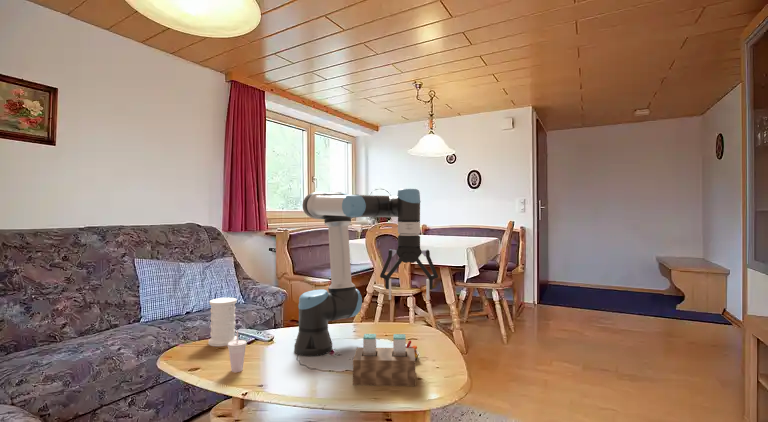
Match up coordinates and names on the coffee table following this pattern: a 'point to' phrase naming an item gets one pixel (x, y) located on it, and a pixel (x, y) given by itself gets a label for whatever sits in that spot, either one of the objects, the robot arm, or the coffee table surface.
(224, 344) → the decorative container
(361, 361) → the socket block
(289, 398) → the coffee table surface
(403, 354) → the peg
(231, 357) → the smoothie
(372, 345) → the peg
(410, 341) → the rainbow disc car
